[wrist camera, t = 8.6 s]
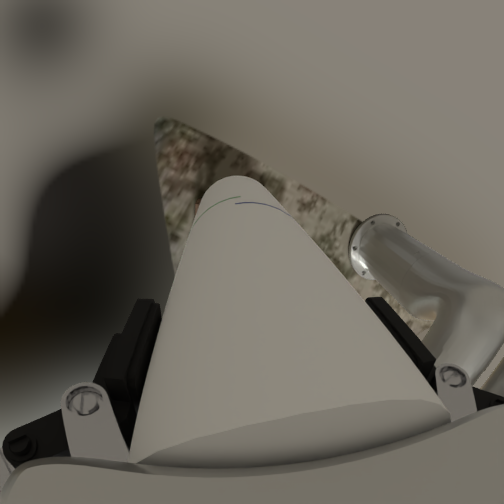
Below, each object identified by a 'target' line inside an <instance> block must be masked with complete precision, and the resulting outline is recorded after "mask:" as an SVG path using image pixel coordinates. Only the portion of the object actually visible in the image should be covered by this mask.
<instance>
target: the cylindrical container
mask: <svg viewBox="0 0 504 504" xmlns="http://www.w3.org/2000/svg"><path fill="white" fill-rule="evenodd" d="M450 422H451V416H450V413H449V411H448V410H447V408H446V407H445V406H444V404H443V403H442V401H441V400H440V399H439V397H438V396H437V394H436V393H435V392H434V390H433V389H432V387H431V386H430V385H429V383H428V382H427V381H426V379H425V378H424V376H423V375H422V374H421V372H420V371H419V370H418V368H417V367H416V366H415V364H414V363H413V362H412V360H411V359H410V358H409V356H408V355H407V354H406V353H405V351H404V350H403V349H402V347H401V346H400V345H399V343H398V342H397V341H396V340H395V338H394V337H393V336H392V334H391V333H390V332H389V331H388V329H387V328H386V327H385V326H384V324H383V323H382V322H381V321H380V319H379V318H378V317H377V316H376V314H375V313H374V312H373V311H372V309H371V308H370V307H369V306H368V305H367V303H366V302H365V301H364V300H363V298H362V297H361V296H360V295H359V294H358V292H357V291H356V290H355V289H354V288H353V286H352V285H351V284H350V283H349V282H348V280H347V279H346V278H345V277H344V276H343V275H342V273H341V272H340V271H339V270H338V269H337V267H336V266H335V265H334V264H333V263H332V262H331V260H330V259H329V258H328V257H327V256H326V255H325V253H324V252H323V251H322V250H321V249H320V248H319V246H318V245H317V244H316V243H315V242H314V241H313V240H312V238H311V237H310V236H309V235H308V234H307V233H306V232H305V231H304V229H303V228H302V227H301V226H300V225H299V224H298V223H297V222H296V220H295V219H294V218H293V217H292V216H291V215H290V214H289V213H288V212H287V211H286V210H285V208H284V207H283V206H282V205H281V204H280V203H279V202H278V201H277V200H276V199H275V198H274V197H273V196H272V194H271V193H270V192H269V191H268V190H267V189H266V188H265V187H264V186H263V185H262V184H261V183H259V182H258V181H256V180H254V179H252V178H249V177H246V176H229V177H225V178H223V179H221V180H218V181H217V182H215V183H214V184H213V185H211V186H210V187H209V189H208V190H207V191H206V192H205V194H204V196H203V197H202V200H201V202H200V205H199V208H198V210H197V213H196V216H195V219H194V221H193V224H192V227H191V230H190V233H189V236H188V239H187V242H186V245H185V248H184V251H183V254H182V257H181V260H180V263H179V266H178V269H177V272H176V275H175V278H174V282H173V285H172V288H171V291H170V294H169V298H168V301H167V304H166V307H165V311H164V314H163V318H162V321H161V325H160V328H159V332H158V335H157V339H156V342H155V346H154V350H153V353H152V357H151V361H150V365H149V369H148V372H147V376H146V380H145V384H144V388H143V393H142V397H141V401H140V405H139V410H138V414H137V418H136V423H135V428H134V432H133V437H132V442H131V447H130V452H129V458H128V463H135V464H144V465H153V466H165V467H182V468H210V469H224V468H252V467H267V466H278V465H287V464H295V463H303V462H310V461H316V460H322V459H328V458H333V457H338V456H343V455H348V454H352V453H357V452H361V451H365V450H369V449H373V448H376V447H380V446H384V445H387V444H391V443H394V442H397V441H401V440H404V439H407V438H410V437H413V436H416V435H419V434H421V433H424V432H427V431H430V430H432V429H435V428H437V427H440V426H443V425H445V424H448V423H450Z"/></svg>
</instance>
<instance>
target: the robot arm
mask: <svg viewBox="0 0 504 504" xmlns="http://www.w3.org/2000/svg"><path fill="white" fill-rule="evenodd" d="M371 221H372V222H371ZM349 260H350V263H351V265H352V267H353V269H354V270H355V271H356V272H357V273H358V274H359V275H360V276H361V277H363V278H366V279H370V280H377V281H378V282H379V283H380V284H381V285H382V286H383V287H384V288H385V289H386V290H387V291H388V292H389V293H390V294H391V295H392V296H393V297H394V298H395V299H396V300H397V301H398V302H399V303H400V305H401V306H402V307H403V308H404V309H405V310H406V311H407V312H408V313H409V314H411V315H412V316H414V317H415V318H418V319H421V320H427V321H434V322H433V324H432V326H431V327H430V330H429V331H428V333H427V334H426V336H425V337H424V339H423V340H422V342H421V341H420V339H419V338H418V337H417V336H416V335H415V334H414V332H413V331H412V330H411V329H410V328H409V327H408V326H407V324H406V323H405V322H404V321H403V320H402V319H401V318H400V317H399V315H398V314H397V313H396V312H395V311H394V310H393V309H392V308H391V307H390V306H389V304H388V303H387V302H386V301H385V300H384V299H383V298H382V297H370V298H367V299H366V300H365V302H366V303H367V305H368V306H369V307H370V308H371V309H372V311H373V312H374V313H375V314H376V316H377V317H378V318H379V319H380V321H381V322H382V323H383V324H384V326H385V327H386V328H387V329H388V331H389V332H390V333H391V334H392V336H393V337H394V338H395V340H396V341H397V342H398V343H399V345H400V346H401V347H402V349H403V350H404V351H405V353H406V354H407V355H408V356H409V358H410V359H411V360H412V362H413V363H414V364H415V366H416V367H417V368H418V370H419V371H420V372H421V374H422V375H423V376H424V378H425V379H426V381H427V382H428V383H429V385H430V386H431V387H432V389H433V390H434V392H435V393H436V394H437V396H438V397H439V399H440V400H441V401H442V403H443V404H444V406H445V407H446V408H447V410H448V411H449V413H450V416H451V422H450V423H448V424H445V425H443V426H440V427H437V428H435V429H432V430H430V431H427V432H424V433H421V434H419V435H416V436H413V437H410V438H407V439H404V440H401V441H397V442H394V443H391V444H387V445H384V446H380V447H376V448H373V449H369V450H365V451H361V452H357V453H352V454H348V455H343V456H338V457H333V458H328V459H322V460H316V461H310V462H303V463H295V464H287V465H278V466H267V467H252V468H224V469H210V468H182V467H165V466H153V465H144V464H135V463H128V458H129V452H130V447H131V442H132V437H133V432H134V428H135V423H136V418H137V414H138V410H139V405H140V401H141V397H142V393H143V388H144V384H145V380H146V376H147V372H148V369H149V365H150V361H151V357H152V353H153V350H154V346H155V342H156V339H157V335H158V332H159V328H160V325H161V321H162V318H161V310H160V304H158V303H155V302H154V300H153V299H137V301H136V303H135V306H134V308H133V310H132V312H131V314H130V316H129V319H128V321H127V323H126V325H125V328H124V330H123V332H122V334H120V333H116V334H114V336H113V338H112V340H111V342H110V344H109V346H108V348H107V351H106V353H105V355H104V357H103V359H102V362H101V364H100V366H99V369H98V371H97V373H96V375H95V378H94V380H93V383H89V382H84V383H78V384H75V385H73V386H71V387H70V388H68V389H67V391H66V392H64V394H63V396H62V398H61V409H60V410H58V411H56V412H54V413H51V414H49V415H47V416H44V417H42V418H40V419H37V420H35V421H33V422H30V423H28V424H26V425H23V426H21V427H19V428H16V429H14V430H12V431H11V432H10V433H9V434H7V436H6V437H5V439H4V441H3V446H2V448H0V504H504V357H503V358H502V360H501V361H500V363H499V364H498V366H497V367H496V368H495V370H494V371H493V372H492V374H491V375H490V376H489V378H488V379H487V380H486V382H485V383H484V384H483V386H482V387H481V388H480V389H478V388H475V387H472V386H473V385H474V383H475V382H476V381H477V379H478V378H479V377H480V376H481V374H482V373H483V372H484V371H485V370H486V368H487V367H488V366H489V364H490V363H491V361H492V360H493V358H494V357H495V356H496V354H497V352H498V351H499V350H500V348H501V347H502V345H503V343H504V288H503V287H501V286H500V285H498V284H497V283H495V282H493V281H491V280H489V279H486V278H484V277H481V276H479V275H477V274H474V273H472V272H470V271H468V270H466V269H464V268H462V267H460V266H459V265H457V264H455V263H454V262H452V261H450V260H449V259H447V258H446V257H444V256H442V255H441V254H439V253H437V252H436V251H434V250H433V249H431V248H429V247H428V246H426V245H424V244H423V243H421V242H420V241H418V240H416V239H414V238H413V237H411V236H410V235H408V234H407V230H406V228H405V226H404V225H403V223H402V222H401V221H400V220H398V219H397V218H395V217H393V216H391V215H388V214H378V215H374V216H371V217H369V218H368V219H366V220H365V221H363V222H362V223H361V224H360V225H359V226H358V228H357V229H356V230H355V232H354V234H353V235H352V238H351V241H350V245H349Z"/></svg>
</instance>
